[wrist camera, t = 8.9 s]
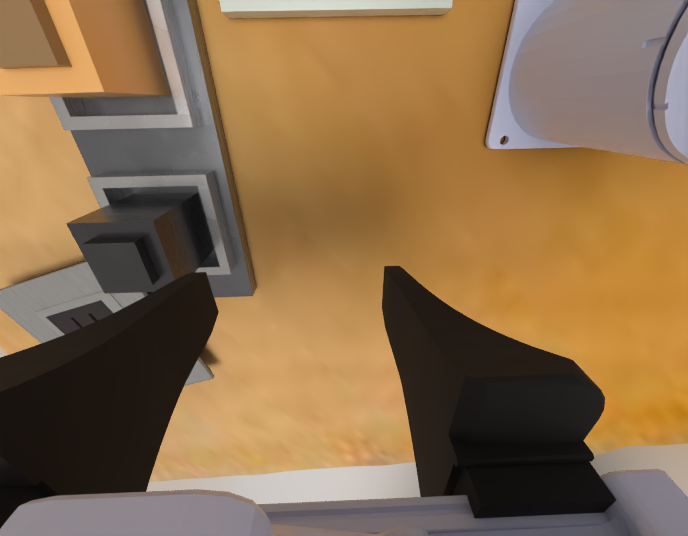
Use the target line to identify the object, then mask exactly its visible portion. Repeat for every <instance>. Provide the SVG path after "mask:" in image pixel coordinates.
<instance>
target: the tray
mask: <svg viewBox="0 0 688 536" xmlns="http://www.w3.org/2000/svg"><path fill="white" fill-rule="evenodd" d="M219 1H220V6H221V12H222V13H224V14H225V15H226V16H227V17H229V18H283V17H341V16H400V15H444V14H445V13H446V12H447V11H448V10H450V9H451V8H452V0H219Z"/></svg>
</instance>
